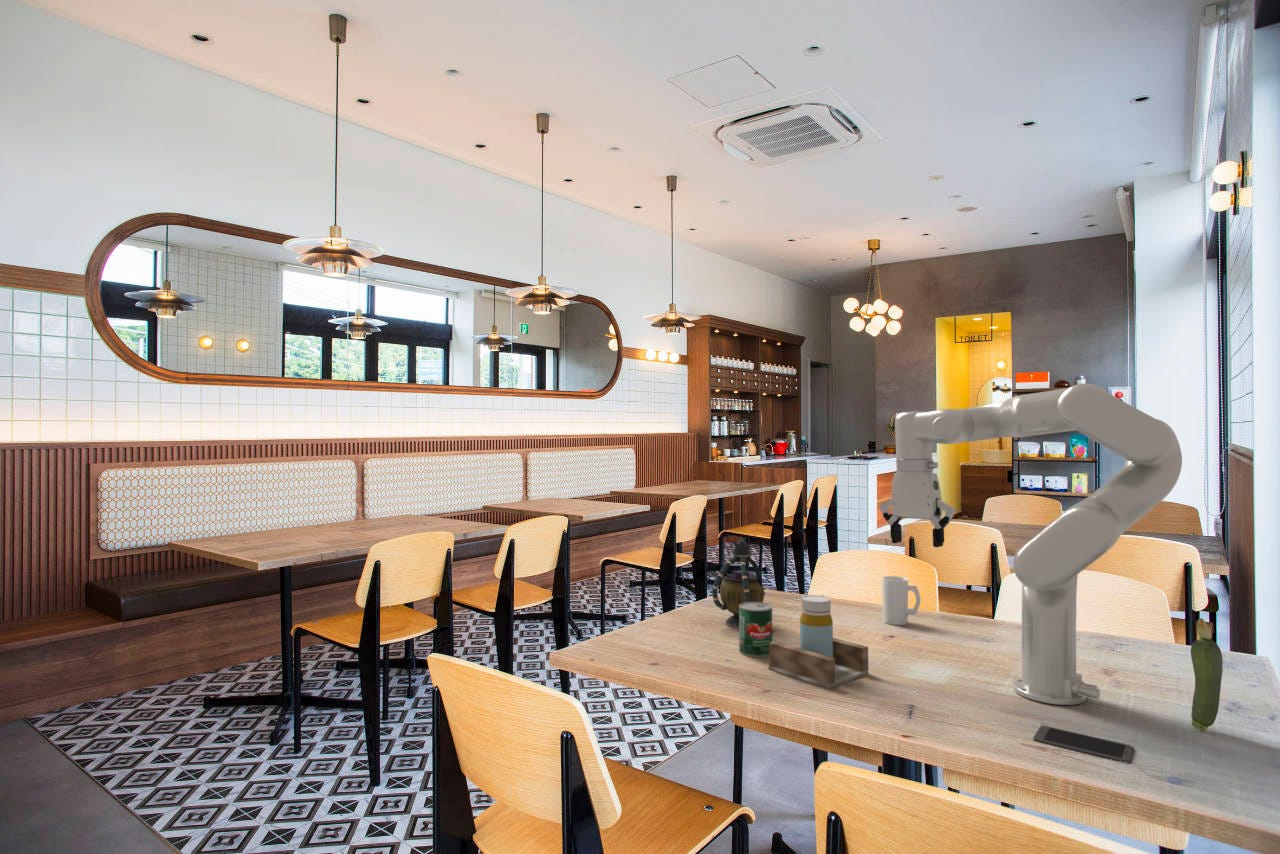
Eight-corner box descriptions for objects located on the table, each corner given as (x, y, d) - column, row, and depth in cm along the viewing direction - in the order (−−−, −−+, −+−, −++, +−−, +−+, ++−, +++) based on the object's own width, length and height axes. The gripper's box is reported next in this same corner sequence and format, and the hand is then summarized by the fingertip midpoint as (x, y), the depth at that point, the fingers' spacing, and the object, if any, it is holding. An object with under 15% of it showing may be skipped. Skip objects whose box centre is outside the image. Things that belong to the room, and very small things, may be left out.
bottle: (830, 661, 162) (829, 595, 162) (835, 672, 155) (834, 602, 155) (798, 660, 163) (798, 594, 163) (802, 671, 156) (801, 601, 156)
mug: (878, 623, 197) (878, 579, 197) (887, 617, 202) (886, 575, 202) (916, 629, 191) (916, 583, 191) (924, 623, 196) (923, 579, 196)
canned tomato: (757, 659, 167) (757, 611, 167) (732, 651, 173) (732, 605, 173) (779, 652, 172) (779, 606, 172) (754, 644, 178) (754, 600, 178)
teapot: (708, 629, 192) (708, 541, 192) (742, 608, 214) (742, 529, 214) (751, 635, 186) (751, 545, 186) (782, 613, 208) (781, 532, 208)
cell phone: (1040, 728, 129) (1040, 724, 129) (1134, 750, 120) (1134, 746, 120) (1031, 742, 123) (1031, 738, 123) (1130, 766, 114) (1130, 762, 114)
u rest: (868, 673, 157) (868, 646, 157) (829, 688, 148) (829, 660, 148) (808, 655, 169) (808, 631, 169) (768, 668, 160) (768, 642, 160)
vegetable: (1208, 726, 128) (1208, 614, 128) (1229, 736, 124) (1229, 620, 124) (1184, 726, 128) (1184, 614, 128) (1204, 737, 124) (1204, 621, 124)
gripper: (960, 466, 156) (963, 546, 156) (887, 466, 169) (890, 539, 169) (944, 468, 151) (947, 550, 151) (870, 467, 164) (872, 543, 164)
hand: (917, 544), depth 160 cm, fingers open, 9 cm apart
